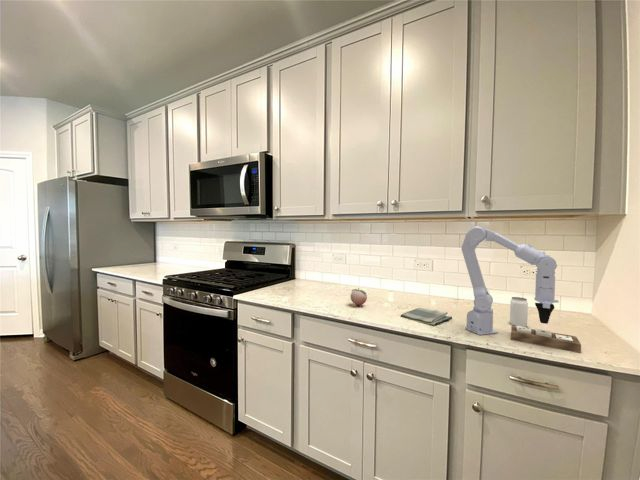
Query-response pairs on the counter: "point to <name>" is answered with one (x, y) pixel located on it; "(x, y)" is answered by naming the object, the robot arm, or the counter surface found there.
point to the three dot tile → (523, 329)
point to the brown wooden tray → (547, 340)
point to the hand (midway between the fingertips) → (543, 322)
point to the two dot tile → (563, 337)
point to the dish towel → (427, 316)
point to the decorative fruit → (358, 297)
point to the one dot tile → (543, 333)
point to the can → (518, 311)
